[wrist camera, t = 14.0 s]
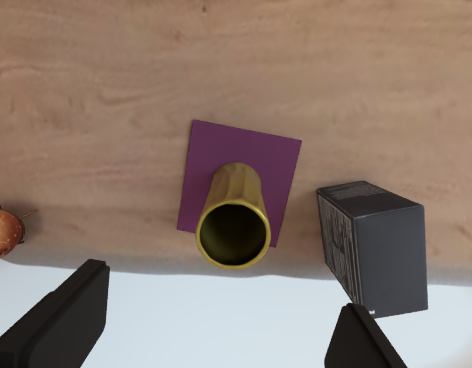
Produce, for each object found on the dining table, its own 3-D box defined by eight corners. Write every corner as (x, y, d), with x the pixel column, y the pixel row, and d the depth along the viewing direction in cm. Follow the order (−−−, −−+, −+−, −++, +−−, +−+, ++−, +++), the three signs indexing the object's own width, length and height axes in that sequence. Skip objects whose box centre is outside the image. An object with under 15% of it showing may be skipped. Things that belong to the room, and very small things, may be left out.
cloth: (193, 119, 30) (193, 119, 29) (301, 140, 30) (302, 140, 30) (177, 228, 33) (176, 229, 33) (275, 246, 33) (275, 247, 33)
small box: (374, 255, 33) (433, 313, 23) (324, 263, 34) (361, 324, 24) (367, 178, 31) (430, 204, 21) (314, 188, 31) (350, 218, 21)
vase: (211, 209, 32) (189, 275, 18) (211, 161, 30) (186, 192, 17) (260, 210, 32) (275, 277, 18) (261, 162, 30) (280, 193, 16)
